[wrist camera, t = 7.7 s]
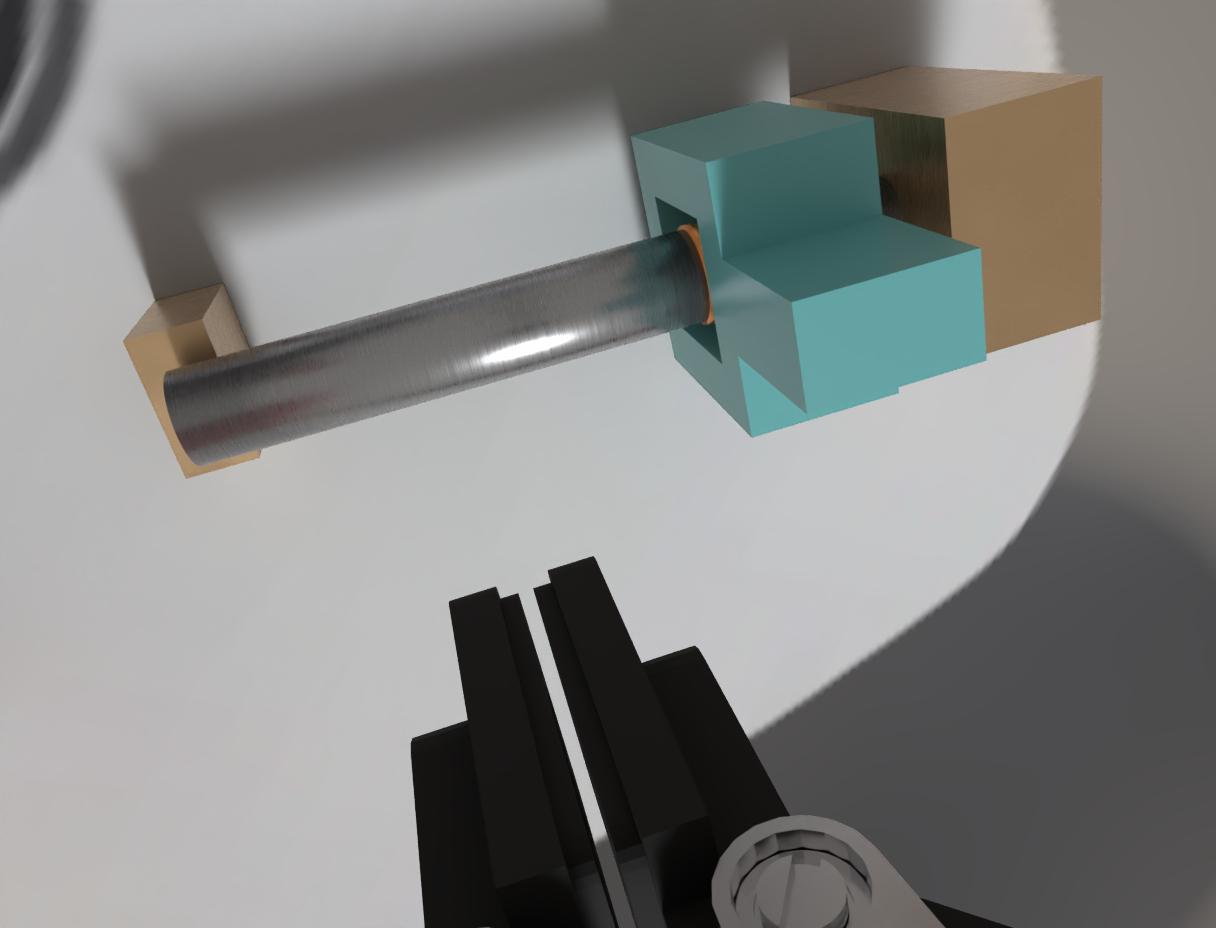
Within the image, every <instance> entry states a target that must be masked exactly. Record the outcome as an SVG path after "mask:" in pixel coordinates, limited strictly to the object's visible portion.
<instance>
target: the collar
mask: <svg viewBox="0 0 1216 928" xmlns="http://www.w3.org/2000/svg"><path fill="white" fill-rule="evenodd" d="M631 141H632V146H633V151H634V156H635V161H636V166H637V171H638V176H639V181H640V186H641V191H642V196H643V201H644V206H645V211H646V216H647V222H648V227H649V232H650V237H651V238H652V237H655V236H659V235H663V234H666V233H670V232H674V231H677V230H678V228H679V226H681V225H684V224H688V223H692V222H695V221H697V223H698V229H699V235H700V240H701V246H702V252H703V257H704V263H705V269H706V274H707V280H708V286H709V291H710V297H711V303H712V308H713V314H714V320H715V323H712V324H709V325H703V324H702V323H699V324H695V325H692V326H688V327H685V328H681V329H678V330H674V331H671V332H670V337H671V342H672V347H673V352H674V357H675V359H676V360H677V361H678V362H679V363H680V364H681V365H682V366H683V367H684V368H685V369H686V371H687V372H688V373H689V374H690V375H691V376H692V377H693V378H694V379H695V380H696V381H697V382H698V383H699V384H700V385H701V386H702V387H703V388H704V389H705V390H706V391H707V392H708V393H709V394H710V395H711V396H712V397H713V398H714V399H715V400H716V401H717V402H718V403H719V404H720V405H721V406H722V408H723V409H724V410H725V411H726V412H727V413H728V414H729V415H730V416H731V417H732V418H733V419H734V420H735V421H736V422H737V423H738V424H739V425H740V426H741V427H742V428H743V429H744V430H745V431H746V432H747V433H748V434H749V435H750V436H751V437H755V436H759V435H762V434H765V433H769V432H772V431H775V430H778V429H782V428H785V427H788V426H792V425H795V424H798V423H802V422H805V421H808V420H811V419H815V418H818V417H821V416H825V415H828V414H831V413H835V412H838V411H841V410H844V409H848V408H851V407H854V406H858V405H861V404H864V403H868V402H871V401H874V400H877V399H881V398H884V397H887V396H891V395H894V394H897V393H899V389H898V387H900V386H904V385H907V384H910V383H914V382H917V381H920V380H924V379H927V378H930V377H933V376H937V375H940V374H943V373H947V372H950V371H953V370H957V369H960V368H963V367H967V366H970V365H973V364H976V363H980V362H983V361H986V342H985V322H984V302H983V282H982V262H981V248H980V247H977V246H974V245H971V244H968V243H965V242H962V241H959V240H956V239H953V238H950V237H947V236H944V235H941V234H938V233H935V232H932V231H929V230H926V229H923V228H920V227H917V226H914V225H911V224H909V223H906V222H903V221H900V220H897V219H894V218H891V217H888V216H885V215H882V207H881V196H880V185H879V174H878V164H877V153H876V142H875V131H874V121H873V118H871V117H864V116H858V115H851V114H845V113H838V112H832V111H825V110H819V109H812V108H806V107H799V106H793V105H786V104H780V103H773V102H767V101H761V102H757V103H753V104H749V105H746V106H742V107H738V108H734V109H730V110H726V111H723V112H719V113H715V114H711V115H707V116H704V117H700V118H696V119H692V120H688V121H685V122H681V123H677V124H673V125H669V126H665V127H662V128H658V129H654V130H650V131H646V132H643V133H639V134H635V135H631Z"/></svg>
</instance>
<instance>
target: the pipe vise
mask: <svg viewBox="0 0 1216 928" xmlns="http://www.w3.org/2000/svg"><path fill="white" fill-rule="evenodd" d="M790 99H791V105H793V106H799V107H806V108H812V109H819V110H825V111H832V112H838V113H845V114H851V115H858V116H864V117H871V118H873V121H874V131H875V142H876V153H877V164H878V174H879V185H880V196H881V207H882V215H885V216H888V217H891V218H894V219H897V220H900V221H903V222H906V223H909V224H911V225H914V226H917V227H920V228H923V229H926V230H929V231H932V232H935V233H938V234H941V235H944V236H947V237H950V238H953V239H956V240H959V241H962V242H965V243H968V244H971V245H974V246H977V247H980V248H981V262H982V282H983V302H984V322H985V342H986V354H987V353H990V352H994V351H997V350H1000V349H1004V348H1007V347H1010V346H1013V345H1017V344H1020V343H1023V342H1027V341H1030V340H1033V339H1037V338H1040V337H1043V336H1047V335H1050V334H1053V333H1057V332H1060V331H1063V330H1067V329H1070V328H1073V327H1076V326H1080V325H1083V324H1086V323H1090V322H1093V321H1096V320H1100V319H1101V182H1102V179H1101V176H1102V174H1101V172H1102V165H1101V164H1102V76H1099V75H1076V74H1058V73H1037V72H1017V71H996V70H976V69H955V68H935V67H914V66H908V67H904V68H900V69H897V70H893V71H889V72H885V73H881V74H877V75H874V76H870V77H866V78H862V79H858V80H855V81H851V82H847V83H843V84H839V85H836V86H832V87H828V88H824V89H820V90H817V91H813V92H809V93H805V94H801V95H798V96H794V97H790ZM699 323H702V324H703V325H709V324H712V323H715V320H714V314H713V308H712V303H711V297H710V291H709V286H708V280H707V274H706V269H705V263H704V257H703V252H702V246H701V240H700V235H699V229H698V223H697V221H695V222H692V223H688V224H684V225H681V226H679V228H678V230H677V231H674V232H670V233H666V234H663V235H659V236H655V237H652V238H648V239H644V240H641V241H637V242H634V243H630V244H626V245H623V246H619V247H615V248H612V249H608V250H605V251H601V252H597V253H594V254H590V255H586V256H583V257H579V258H575V259H572V260H568V261H565V262H561V263H557V264H554V265H550V266H546V267H543V268H539V269H535V270H532V271H528V272H525V273H521V274H517V275H514V276H510V277H506V278H503V279H499V280H495V281H492V282H488V283H485V284H481V285H477V286H474V287H470V288H466V289H463V290H459V291H456V292H452V293H448V294H445V295H441V296H437V297H434V298H430V299H426V300H423V301H419V302H416V303H412V304H408V305H405V306H401V307H397V308H394V309H390V310H386V311H383V312H379V313H376V314H372V315H368V316H365V317H361V318H357V319H354V320H350V321H346V322H343V323H339V324H336V325H332V326H328V327H325V328H321V329H317V330H314V331H310V332H307V333H303V334H299V335H296V336H292V337H288V338H285V339H281V340H277V341H274V342H270V343H267V344H263V345H259V346H256V347H252V348H249V346H248V344H247V341H246V339H245V336H244V334H243V331H242V329H241V326H240V324H239V321H238V319H237V316H236V314H235V311H234V309H233V306H232V304H231V301H230V299H229V296H228V294H227V291H226V289H225V286H224V284H223V283H221V284H217V285H214V286H210V287H206V288H202V289H199V290H195V291H191V292H187V293H184V294H180V295H176V296H172V297H169V298H165V299H161V300H157V301H154V303H153V304H152V305H151V306H150V308H149V309H148V310H147V311H146V313H145V314H144V315H143V316H142V318H141V319H140V320H139V321H138V323H137V324H136V325H135V326H134V328H133V329H132V330H131V331H130V333H129V334H128V335H127V336H126V338H125V339H124V340H123V342H124V345H125V347H126V349H127V351H128V353H129V356H130V358H131V360H132V362H133V364H134V366H135V369H136V371H137V373H138V375H139V377H140V379H141V382H142V384H143V386H144V388H145V390H146V393H147V395H148V397H149V399H150V401H151V403H152V406H153V408H154V410H155V412H156V414H157V417H158V419H159V421H160V423H161V425H162V427H163V430H164V432H165V434H166V436H167V438H168V441H169V443H170V445H171V447H172V449H173V451H174V454H175V456H176V458H177V460H178V462H179V465H180V467H181V469H182V471H183V473H184V475H185V478H186V479H187V478H190V477H194V476H197V475H201V474H204V473H208V472H211V471H215V470H218V469H222V468H225V467H229V466H232V465H236V464H239V463H243V462H246V461H249V460H253V459H256V458H260V454H261V450H262V449H263V448H267V447H270V446H274V445H277V444H281V443H284V442H288V441H291V440H295V439H298V438H302V437H305V436H309V435H312V434H316V433H319V432H323V431H326V430H329V429H333V428H336V427H340V426H343V425H347V424H350V423H354V422H357V421H361V420H364V419H368V418H371V417H375V416H378V415H382V414H385V413H389V412H392V411H396V410H399V409H403V408H406V407H410V406H413V405H417V404H420V403H423V402H427V401H430V400H434V399H437V398H441V397H444V396H448V395H451V394H455V393H458V392H462V391H465V390H469V389H472V388H476V387H479V386H483V385H486V384H490V383H493V382H497V381H500V380H504V379H507V378H511V377H514V376H517V375H521V374H524V373H528V372H531V371H535V370H538V369H542V368H545V367H549V366H552V365H556V364H559V363H563V362H566V361H570V360H573V359H577V358H580V357H584V356H587V355H591V354H594V353H598V352H601V351H605V350H608V349H611V348H615V347H618V346H622V345H625V344H629V343H632V342H636V341H639V340H643V339H646V338H650V337H653V336H657V335H660V334H664V333H667V332H671V331H674V330H678V329H681V328H685V327H688V326H692V325H695V324H699Z"/></svg>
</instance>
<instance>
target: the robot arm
mask: <svg viewBox="0 0 1216 928" xmlns="http://www.w3.org/2000/svg"><path fill="white" fill-rule="evenodd" d="M548 574H549V578H550V581H551V583H549V584H546V585H543V586H539V587H536V588H533V589H534V593H535V596H536V600H537V603H538V606H539V610H540V613H541V616H542V620H543V623H544V626H545V630H546V633H547V636H548V640H549V643H550V647H551V650H552V653H553V657H554V660H555V663H556V667H557V670H558V673H559V677H560V680H561V683H562V687H563V690H564V693H565V697H566V700H567V703H568V707H569V710H570V713H571V717H572V720H573V723H574V727H575V730H576V733H577V737H578V740H579V743H580V747H581V750H582V754H583V757H584V760H585V764H586V767H587V770H588V773H589V777H590V780H591V783H592V787H593V790H594V793H595V796H596V800H597V803H598V806H599V809H600V813H601V816H602V819H603V822H604V825H605V829H606V832H607V835H608V838H609V842H610V845H611V848H612V851H613V854H614V858H615V861H616V864H617V867H618V871H619V874H620V877H621V880H622V883H623V887H624V890H625V893H626V896H627V900H628V903H629V906H630V909H631V912H632V916H633V919H634V922H635V926H636V928H1012V927H1009V926H1006V925H1003V924H1000V923H996V922H993V921H990V920H987V919H984V918H981V917H978V916H975V915H972V914H969V913H965V912H962V911H959V910H956V909H953V908H950V907H947V906H944V905H941V904H938V903H934V902H931V901H928V900H925V899H922V898H919V897H918V896H917V895H916V893H915V892H914V891H913V890H912V889H911V888H910V886H909V885H908V884H907V883H906V882H905V881H904V880H903V879H902V877H901V876H900V875H899V874H898V873H897V872H896V871H895V869H894V868H893V867H892V866H891V865H890V863H889V862H888V861H887V860H886V859H885V858H884V856H883V855H882V854H881V853H880V852H879V851H878V850H877V849H876V847H875V846H874V845H872V844H871V843H870V842H869V841H868V840H866V839H865V838H864V837H863V836H862V835H861V834H860V833H858V832H857V831H856V830H854V829H852V828H850V827H847V826H845V825H843V824H841V823H839V822H836V821H834V820H832V819H826V818H820V817H814V816H808V815H800V816H790V815H789V813H788V811H787V810H786V808H785V806H784V804H783V802H782V800H781V799H780V797H779V795H778V793H777V791H776V789H775V787H774V786H773V784H772V782H771V780H770V778H769V777H768V775H767V773H766V771H765V769H764V767H763V765H762V764H761V762H760V760H759V758H758V756H757V755H756V752H755V751H754V749H753V747H752V745H751V743H750V741H749V740H748V738H747V736H746V734H745V732H744V730H743V729H742V727H741V725H740V723H739V721H738V719H737V717H736V716H735V714H734V712H733V710H732V708H731V706H730V705H729V703H728V701H727V699H726V697H725V695H724V694H723V692H722V690H721V688H720V686H719V684H718V683H717V681H716V679H715V677H714V675H713V673H712V671H711V670H710V668H709V666H708V664H707V662H706V660H705V659H704V657H703V655H702V654H701V652H700V650H699V649H698V648H697V647H696V646H692V647H689V648H686V649H683V650H680V651H677V652H674V653H670V654H667V655H664V656H661V657H658V658H655V659H652V660H649V661H646V662H643V663H641V660H640V658H639V656H638V654H637V651H636V649H635V647H634V645H633V642H632V640H631V638H630V636H629V633H628V631H627V629H626V627H625V624H624V622H623V620H622V618H621V615H620V613H619V611H618V609H617V606H616V604H615V602H614V600H613V597H612V595H611V593H610V591H609V588H608V586H607V584H606V582H605V579H604V577H603V575H602V573H601V570H600V568H599V566H598V564H597V561H596V559H595V557H594V556H592V557H589V558H586V559H582V560H579V561H576V562H573V563H570V564H566V565H563V566H560V567H557V568H554V569H550V570H548ZM449 608H450V614H451V620H452V626H453V632H454V639H455V645H456V651H457V657H458V663H459V669H460V675H461V681H462V688H463V694H464V700H465V706H466V712H467V718H468V720H467V721H464V722H460V723H457V724H454V725H451V726H448V727H445V728H442V729H439V730H436V731H433V732H430V733H427V734H424V735H421V736H418V737H415V738H412V741H411V761H412V773H413V786H414V798H415V811H416V824H417V836H418V849H419V861H420V874H421V886H422V899H423V911H424V924H425V928H619V926H618V923H617V919H616V916H615V912H614V909H613V906H612V902H611V899H610V895H609V892H608V888H607V885H606V882H605V878H604V875H603V871H602V868H601V864H600V861H599V857H598V854H597V851H596V847H595V844H594V840H593V837H592V833H591V830H590V827H589V823H588V820H587V816H586V813H585V809H584V806H583V802H582V799H581V796H580V792H579V789H578V786H577V782H576V779H575V776H574V772H573V769H572V766H571V763H570V759H569V756H568V753H567V750H566V746H565V743H564V740H563V737H562V733H561V730H560V727H559V724H558V720H557V717H556V714H555V711H554V707H553V704H552V701H551V698H550V694H549V691H548V688H547V685H546V681H545V678H544V675H543V672H542V668H541V665H540V662H539V659H538V656H537V652H536V649H535V646H534V643H533V639H532V636H531V633H530V630H529V626H528V623H527V620H526V617H525V613H524V610H523V607H522V604H521V600H520V597H519V594H518V593H517V594H514V595H511V596H508V597H504V598H501V599H500V596H499V593H498V590H497V588H496V587H493V588H490V589H487V590H483V591H480V592H477V593H474V594H471V595H468V596H464V597H461V598H458V599H455V600H452V601H449Z"/></svg>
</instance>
